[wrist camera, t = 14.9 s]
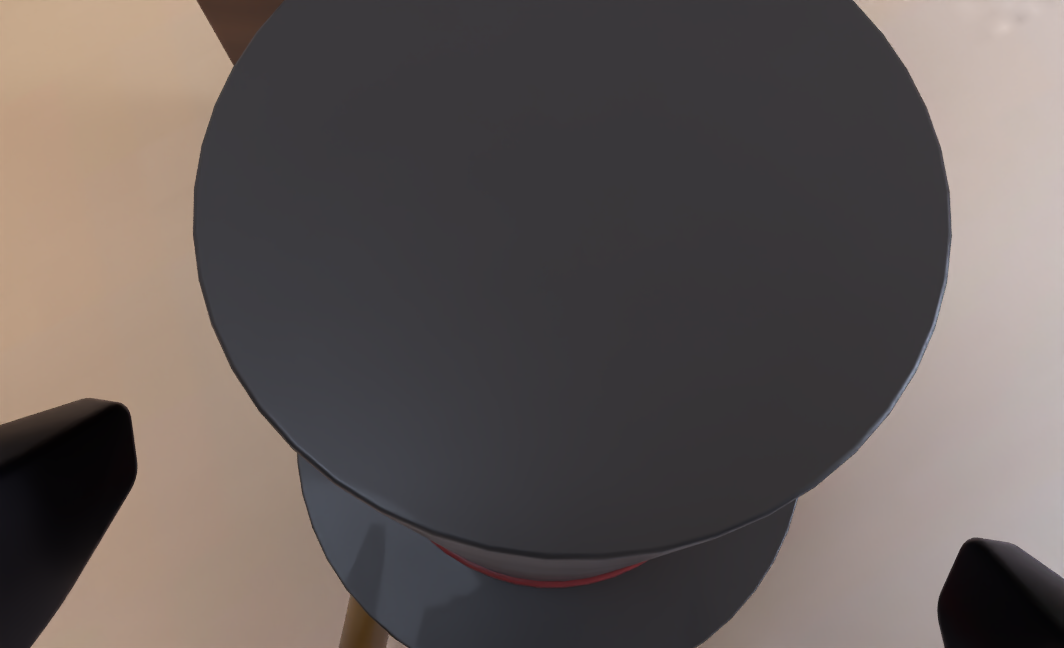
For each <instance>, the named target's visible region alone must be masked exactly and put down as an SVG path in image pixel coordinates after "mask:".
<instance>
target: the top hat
mask: <svg viewBox="0 0 1064 648" xmlns="http://www.w3.org/2000/svg"><path fill="white" fill-rule="evenodd" d="M193 238H194V246H195V254H196V262H197V270H198V278H199V282H200V286H201V290H202V293H203V297H204V300H205V304H206V307H207V311H208V314H209V318H210V321H211V325H212V327H213V329H214V331H215V334H216V336H217V338H218V340H219V342H220V345H221V347H222V349H223V351H224V353H225V356H226V358H227V360H228V362H229V364H230V367H231V369H232V370H233V372H234V373H235V375H236V377H237V378H238V380H239V381H240V383H241V384H242V386H243V387H244V389H245V390H246V392H247V393H248V395H249V397H250V398H251V400H252V401H253V403H254V404H255V406H256V407H257V409H258V410H259V412H260V413H261V414H262V415H263V416H264V417H265V418H266V419H267V421H268V422H269V423H270V424H271V425H272V426H273V427H274V429H275V430H276V431H277V432H278V433H279V434H280V435H281V436H282V438H283V439H284V440H285V441H286V442H287V443H288V444H289V445H290V447H291V448H292V449H293V450H294V451H295V452H297V463H298V469H299V475H300V482H301V488H302V494H303V498H304V501H305V505H306V508H307V511H308V515H309V518H310V521H311V524H312V528H313V530H314V532H315V534H316V536H317V539H318V541H319V543H320V545H321V547H322V550H323V552H324V554H325V556H326V558H327V560H328V562H329V563H330V565H331V566H332V568H333V569H334V571H335V573H336V574H337V576H338V577H339V579H340V580H341V582H342V584H343V585H344V587H345V588H346V590H347V591H348V592H349V593H350V594H351V595H352V597H353V598H354V599H355V600H356V601H357V602H358V604H359V605H360V606H361V607H362V608H363V609H364V611H365V612H366V613H367V614H368V615H369V616H370V617H371V618H372V619H373V620H374V621H375V622H377V623H378V624H379V625H380V626H381V627H382V628H383V629H385V630H386V631H387V632H388V633H389V634H390V635H391V636H392V637H394V638H395V639H396V640H397V641H399V642H400V643H402V644H403V645H405V646H407V647H408V648H696V647H697V646H699V645H700V644H702V643H703V642H705V641H706V640H707V639H708V638H710V637H711V636H712V635H713V634H714V633H715V632H716V631H718V630H719V629H720V628H721V627H722V626H723V625H725V624H726V623H727V622H728V621H729V620H730V619H731V618H732V617H733V616H734V615H735V614H736V613H737V612H738V610H739V609H740V608H741V607H742V606H743V605H744V603H745V602H746V601H747V600H748V599H749V598H750V597H751V595H752V594H753V593H754V592H755V591H756V589H757V587H758V586H759V584H760V583H761V581H762V580H763V578H764V577H765V575H766V573H767V572H768V570H769V569H770V567H771V566H772V564H773V563H774V561H775V558H776V556H777V554H778V552H779V550H780V547H781V545H782V543H783V541H784V539H785V537H786V534H787V532H788V530H789V526H790V523H791V520H792V516H793V513H794V510H795V506H796V503H797V500H798V497H800V496H801V495H803V494H805V493H806V492H808V491H810V490H811V489H813V488H814V487H816V486H817V485H818V484H819V483H820V482H822V481H823V480H824V479H825V478H826V477H828V476H829V475H830V474H831V473H832V472H833V471H835V470H836V469H837V468H838V467H839V466H841V465H842V464H843V463H844V462H845V461H846V460H848V459H849V458H850V457H851V456H852V455H854V454H855V453H856V452H857V451H858V449H859V448H860V447H861V446H862V445H863V444H864V443H865V441H866V440H867V439H868V438H869V437H870V436H871V435H872V433H873V432H874V431H875V430H876V429H877V428H878V427H879V425H880V424H881V423H882V422H883V421H884V420H885V419H886V417H887V416H888V415H889V414H890V412H891V411H892V409H893V408H894V406H895V404H896V403H897V401H898V400H899V398H900V397H901V395H902V393H903V392H904V390H905V389H906V387H907V385H908V384H909V382H910V381H911V379H912V378H913V376H914V374H915V373H916V371H917V368H918V366H919V364H920V362H921V359H922V357H923V355H924V352H925V350H926V348H927V345H928V343H929V341H930V339H931V336H932V334H933V332H934V329H935V326H936V322H937V318H938V315H939V311H940V307H941V303H942V299H943V295H944V292H945V288H946V284H947V277H948V267H949V257H950V247H951V238H952V232H951V212H950V192H949V186H948V181H947V176H946V171H945V166H944V161H943V156H942V151H941V147H940V144H939V141H938V139H937V136H936V133H935V130H934V127H933V124H932V121H931V119H930V116H929V113H928V110H927V107H926V105H925V103H924V101H923V99H922V98H921V96H920V94H919V92H918V90H917V88H916V86H915V84H914V82H913V80H912V78H911V76H910V74H909V72H908V70H907V68H906V67H905V66H904V64H903V63H902V61H901V60H900V58H899V57H898V55H897V54H896V52H895V51H894V50H893V48H892V47H891V45H890V44H889V42H888V41H887V39H886V38H885V36H884V35H883V34H882V33H881V31H880V30H879V29H878V28H877V27H876V26H875V25H874V24H873V22H872V21H871V20H870V19H869V18H868V17H867V16H866V15H865V13H864V12H863V11H862V10H861V9H860V8H859V7H858V5H857V4H856V3H855V2H854V1H853V0H284V1H283V2H282V3H281V4H280V6H279V7H278V8H277V9H276V10H275V11H274V12H273V14H272V15H271V16H270V17H269V18H268V19H267V21H266V22H265V23H264V24H263V25H262V26H261V27H260V29H259V30H258V31H257V32H256V34H255V35H254V37H253V38H252V40H251V41H250V43H249V44H248V46H247V47H246V49H245V50H244V52H243V53H242V55H241V56H240V58H239V59H238V61H237V62H236V64H235V65H234V67H233V69H232V71H231V73H230V75H229V77H228V79H227V81H226V83H225V85H224V87H223V89H222V91H221V93H220V95H219V98H218V100H217V102H216V104H215V106H214V109H213V112H212V115H211V118H210V121H209V125H208V128H207V131H206V134H205V137H204V140H203V143H202V146H201V152H200V158H199V164H198V169H197V175H196V181H195V187H194V217H193Z"/></svg>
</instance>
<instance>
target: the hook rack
mask: <svg viewBox="0 0 1064 648" xmlns="http://www.w3.org/2000/svg"><path fill="white" fill-rule="evenodd" d="M283 1H284V0H197V2H198V4H199V5H200V7H201V9H202V11H203V12H204V14H205V16H206V18H207V19H208V21H209V23H210V25H211V26H212V28H213V30H214V32H215V33H216V35H217V37H218V39H219V40H220V42H221V44H222V46H223V48H224V49H225V51H226V53H227V55H228V56H229V58H230V60H231V62H232V63H233V65H235V64H236V62H237V61H238V59H239V58H240V56H241V55H242V53H243V52H244V50H245V49H246V47H247V46H248V44H249V43H250V41H251V40H252V38H253V37H254V35H255V34H256V32H257V31H258V30H259V29H260V27H261V26H262V25H263V24H264V23H265V22H266V21H267V19H268V18H269V17H270V16H271V15H272V14H273V12H274V11H275V10H276V9H277V8H278V7H279V6H280V4H281V3H282V2H283ZM388 635H389V633H388V632H387V631H386V630H385V629H383V628H382V627H381V626H380V625H379V624H378V623H377V622H375V621H374V620H373V619H372V618H371V617H370V616H369V615H368V614H367V613H366V612H365V611H364V609H363V608H362V607H361V606H360V605H359V604H358V602H357V601H356V600H355V599H354V598H353V597H352V595H350V600H349V604H348V609H347V613H346V618H345V622H344V627H343V631H342V636H341V640H340V645H339V648H386V645H387V640H388Z"/></svg>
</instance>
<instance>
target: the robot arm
mask: <svg viewBox="0 0 1064 648" xmlns="http://www.w3.org/2000/svg"><path fill="white" fill-rule="evenodd" d="M136 475H137V457H136V449H135V442H134V435H133V428H132V420H131V415H130V412H129V410H128V408H127V407H126V406H125V405H123V404H122V403H119V402H113V401H107V400H100V399H94V398H85V399H81V400H78V401H74V402H71V403H68V404H65V405H62V406H59V407H56V408H52V409H49V410H46V411H43V412H40V413H37V414H34V415H30V416H27V417H24V418H21V419H18V420H15V421H12V422H9V423H5V424H2V425H0V648H31V646H32V645H33V643H34V642H35V641H36V639H37V638H38V637H39V635H40V634H41V633H42V631H43V630H44V629H45V627H46V626H47V624H48V623H49V622H50V620H51V619H52V617H53V616H54V615H55V613H56V612H57V610H58V609H59V607H60V606H61V604H62V603H63V601H64V600H65V598H66V597H67V595H68V594H69V592H70V590H71V589H72V587H73V586H74V584H75V582H76V581H77V579H78V577H79V576H80V574H81V572H82V571H83V569H84V567H85V566H86V564H87V562H88V561H89V559H90V557H91V556H92V554H93V552H94V551H95V549H96V547H97V546H98V544H99V542H100V541H101V539H102V537H103V536H104V534H105V532H106V531H107V529H108V527H109V526H110V524H111V522H112V521H113V519H114V517H115V516H116V514H117V512H118V511H119V509H120V507H121V506H122V504H123V502H124V501H125V499H126V497H127V496H128V494H129V492H130V491H131V489H132V487H133V484H134V482H135V479H136ZM937 612H938V621H939V626H940V630H941V634H942V638H943V642H944V647H945V648H1064V579H1063V578H1062V577H1061V576H1059V575H1058V574H1056V573H1055V572H1053V571H1052V570H1051V569H1049V568H1048V567H1046V566H1045V565H1043V564H1042V563H1041V562H1039V561H1038V560H1036V559H1035V558H1033V557H1032V556H1031V555H1029V554H1028V553H1026V552H1025V551H1023V550H1022V549H1021V548H1019V547H1018V546H1016V545H1014V544H1011V543H1008V542H1002V541H996V540H989V539H983V538H971V539H969V540H967V541H966V542H965V543H964V544H963V545H962V547H961V549H960V551H959V553H958V555H957V557H956V559H955V562H954V564H953V566H952V568H951V571H950V573H949V575H948V577H947V579H946V582H945V584H944V586H943V588H942V591H941V593H940V596H939V600H938V608H937Z"/></svg>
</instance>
